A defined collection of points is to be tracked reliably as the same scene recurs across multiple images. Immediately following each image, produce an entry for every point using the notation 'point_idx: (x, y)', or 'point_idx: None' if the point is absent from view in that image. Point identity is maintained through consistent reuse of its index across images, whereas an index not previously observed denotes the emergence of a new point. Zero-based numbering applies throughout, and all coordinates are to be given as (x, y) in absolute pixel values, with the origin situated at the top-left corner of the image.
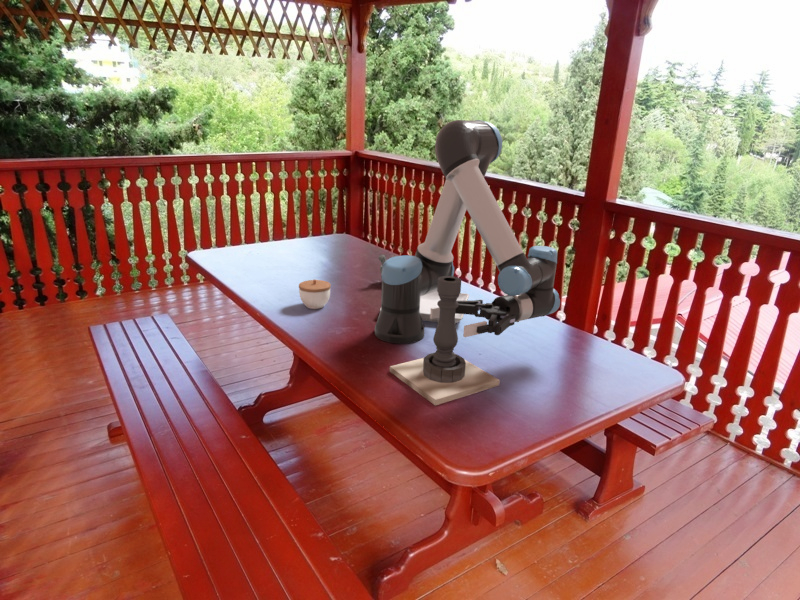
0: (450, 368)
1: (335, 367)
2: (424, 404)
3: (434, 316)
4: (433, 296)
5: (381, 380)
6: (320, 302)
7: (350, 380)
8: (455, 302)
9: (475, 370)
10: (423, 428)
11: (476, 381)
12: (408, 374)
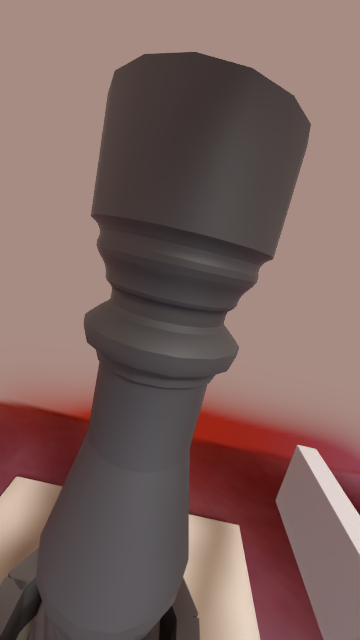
0: (24, 577)
1: (286, 464)
2: (45, 477)
3: (285, 507)
4: None
5: (198, 489)
6: None
7: (224, 451)
8: (110, 302)
9: None
10: (4, 420)
11: None
12: None
